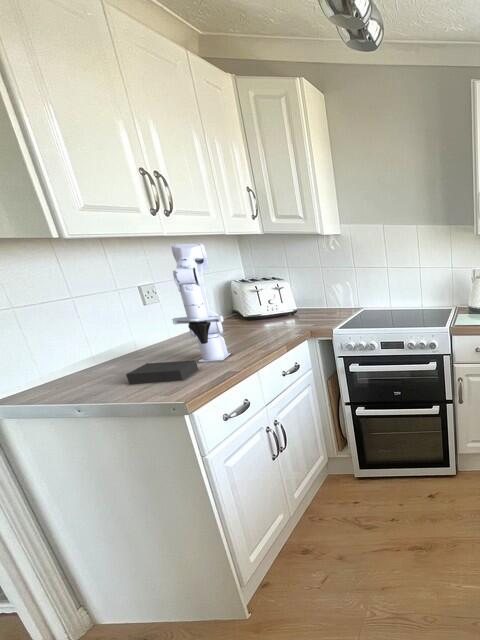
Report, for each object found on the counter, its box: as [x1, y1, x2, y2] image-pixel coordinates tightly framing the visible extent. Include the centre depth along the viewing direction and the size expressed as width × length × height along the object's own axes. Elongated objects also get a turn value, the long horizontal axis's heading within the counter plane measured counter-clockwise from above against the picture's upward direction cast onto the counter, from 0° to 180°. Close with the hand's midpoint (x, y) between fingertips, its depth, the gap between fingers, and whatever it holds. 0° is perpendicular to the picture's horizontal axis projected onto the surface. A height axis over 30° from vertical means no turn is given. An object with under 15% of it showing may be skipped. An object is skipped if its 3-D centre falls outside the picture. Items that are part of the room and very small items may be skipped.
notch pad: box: [125, 360, 180, 385], centre depth 140 cm, size 12×10×4 cm
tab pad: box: [159, 359, 199, 382], centre depth 141 cm, size 12×8×4 cm, turn 15°
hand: (204, 343), depth 146 cm, fingers closed
